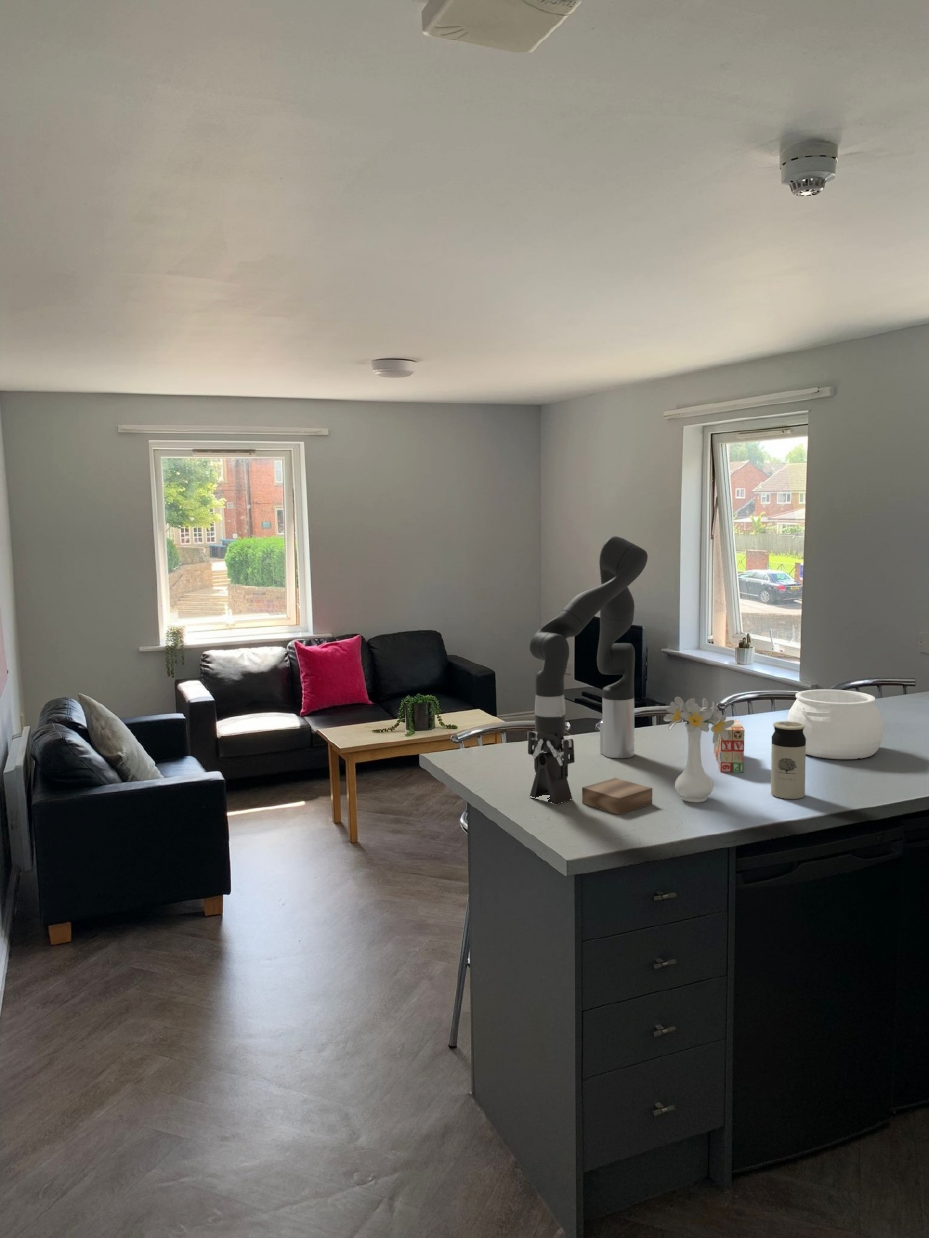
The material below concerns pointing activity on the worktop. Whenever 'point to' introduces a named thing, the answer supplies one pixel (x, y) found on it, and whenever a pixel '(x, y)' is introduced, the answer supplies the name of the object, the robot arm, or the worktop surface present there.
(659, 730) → the worktop surface
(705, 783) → the flower vase
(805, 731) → the pot
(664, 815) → the worktop surface
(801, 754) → the travel mug
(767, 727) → the worktop surface
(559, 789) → the door stopper
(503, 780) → the worktop surface
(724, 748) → the stack of blocks
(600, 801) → the walnut base
